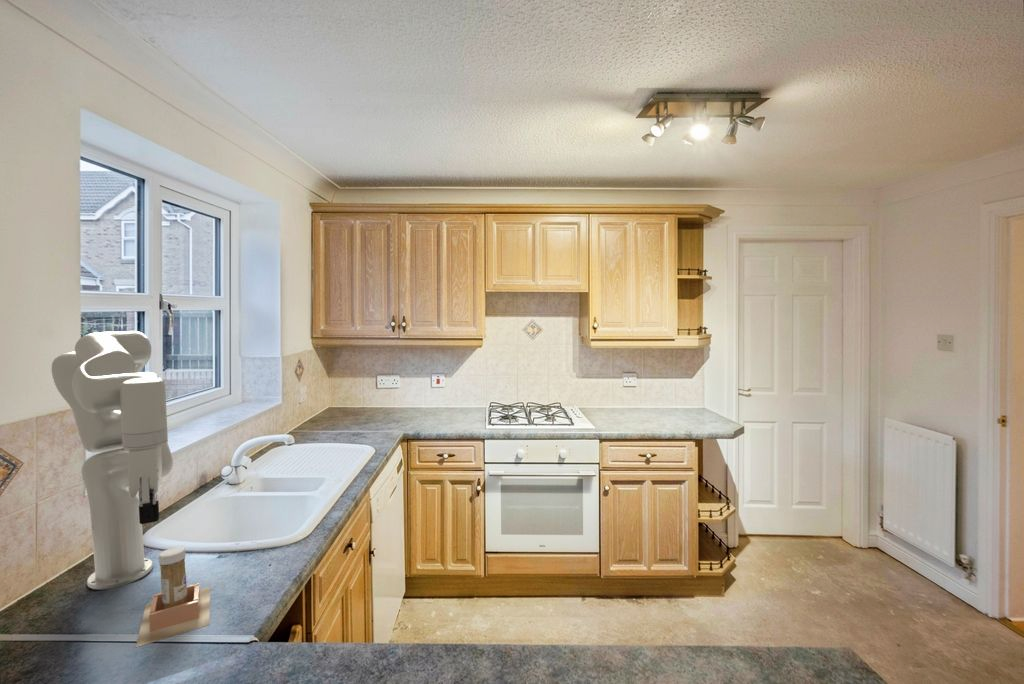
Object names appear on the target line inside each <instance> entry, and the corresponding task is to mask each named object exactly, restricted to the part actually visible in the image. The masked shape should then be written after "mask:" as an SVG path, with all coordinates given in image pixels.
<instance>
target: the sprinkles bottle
mask: <svg viewBox="0 0 1024 684" xmlns="http://www.w3.org/2000/svg"><path fill="white" fill-rule="evenodd" d="M185 559H186V549H185V548H184V547H183V546H177V547H176V546H175V547H172V548H168V549H165V550H163V551H161V552H160V553H159V554H158V564H159V566H160V587H161V593H162V602H163V609H167V608H170V607H174V606H178V605H181V604H185V603H187V586H188V585H187V574H186V561H185Z"/></svg>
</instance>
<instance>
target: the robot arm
mask: <svg viewBox="0 0 1024 684" xmlns="http://www.w3.org/2000/svg"><path fill="white" fill-rule="evenodd" d="M151 355H152V344H151V342H150V340H149V337H147V335H145V334H144V333H143V332H140V331H138V330H137V331H136V330H129V331H127V330H126V331H125V330H123V331H121V330H120V331H101V332H99V331H98V332H92V333H88V334H85V335H83V336H82V337H80V338H79V339H78V340H77V341H76V343H75V344H74V351H71V352H69V351H68V352H65V353H62V354H60V355H57V357H55V358H54V359H53V360H52V362H51V375H52V379H54V380H53V383H54V385H55V388H56V389H57V391H58V392H59V394H60V396H61V397H62V398H63V399H64V400H65V401H66V403H67V404H68V405H69V406H70V408H71V410H72V412H73V417H74V421H75V425H76V428H77V431H78V434H79V437H80V441H81V444H82V447H83V448H84V449H85V450H86V451H87V452H89V453H94V454H93V455H92V456H90V457H88V459H86V460H85V461H84V462H83V464H82V466H81V476H82V477H81V478H82V480H83V484H84V486H85V490H86V493H87V498H88V505H89V513H90V515H89V516H90V524H91V526H90V527H91V539H92V548H93V549H92V551H93V561H94V572H93V573H91V574H90V575H89V576H88V577H87V581H86V583H87V587H88V588H90V589H92V590H99V591H100V590H109V589H113V588H116V587H121V586H124V585H128V584H130V583H133V582H136V581H138V580H140V579H141V578H143V577H145V576H146V575H147V574H149V573H150V572H151V571H152V569H153V567H154V566H153V563H154V562H153V560H152V559H150V558H145V550H144V549H145V546H144V534H143V533H144V532H143V525H145V524H150V523H155V522H156V523H157V522H158V521H159V519H160V508H159V507H160V505H159V500H158V493H159V492H160V491H159V490H160V487H161V486H160V485H161V482H162V481H161V480H162V478H164V477H166V476H168V475H169V474H170V473H172V470H173V467H174V466H173V464H174V461H173V456H172V452H171V449H170V447H169V444H168V440H169V438H168V436H169V435H168V418H167V417H168V415H167V396H166V395H167V393H166V384H165V382H164V381H163V378H161V377H160V376H159V375H158V374H157V373H155V372H151V371H143V372H142V370H143V369H144V367H146V365H147V364H148V363H149V361H150V359H151ZM95 453H96V454H95ZM127 488H128V490H127ZM137 494H138V496H137Z"/></svg>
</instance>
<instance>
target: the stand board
mask: <svg viewBox="0 0 1024 684" xmlns="http://www.w3.org/2000/svg"><path fill="white" fill-rule="evenodd" d="M151 605H152V601H151V602H148V603H145V607H144V611H143V615H142V619H141V624H140V627H139V632H138V635H137V639H136V643H135V648H138V647H142V646H145V645H148V644H152V643H155V642H160V641H162V640H165V639H168V638H169V639H170V638H171V637H175V636H179V635H180V634H184V633H188V632H191V631H194V630H197V629H200V628H201V629H202V628H204V627H207V626H208V627H209V626H210V624H211V623H210V622H211V621H210V620H211V619H210V615H211V610H210V609H211V586H205V587H203V588H200V609H199V618H196V619H193V620H189V621H186V622H182V623H179V624H176V625H172V626H169V627H166V628H162V629H159V630H155V631H152V632H150V620H149V614H150V609H151Z"/></svg>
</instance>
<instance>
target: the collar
mask: <svg viewBox="0 0 1024 684" xmlns="http://www.w3.org/2000/svg"><path fill="white" fill-rule="evenodd" d="M200 589H201V588H200V582H197V583H193V584H190V585H187V603H185V604H181V605H178V606H174V607H170V608H167V609H163V602H162V592H159V593H155V594H153V596H152V601H151V602H152V605H151V609H150V614H149V620H150V632H152V631H155V630H159V629H162V628H166V627H169V626H172V625H176V624H179V623H182V622H186V621H189V620H193V619H196V618H199V609H200Z"/></svg>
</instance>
